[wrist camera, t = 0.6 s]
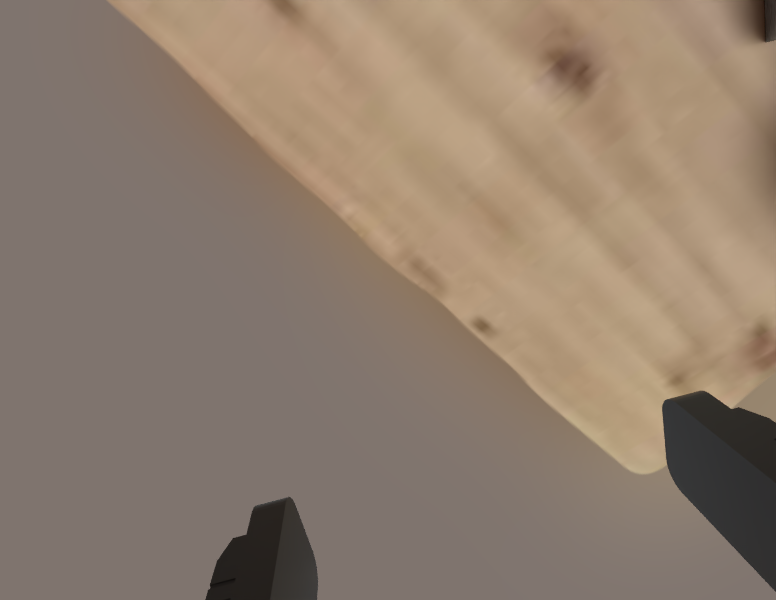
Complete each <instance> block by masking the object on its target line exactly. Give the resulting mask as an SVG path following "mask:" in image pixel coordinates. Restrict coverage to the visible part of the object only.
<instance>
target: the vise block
mask: <svg viewBox="0 0 776 600" xmlns="http://www.w3.org/2000/svg"><path fill="white" fill-rule="evenodd" d="M765 29H766V42H770V41H774V40H776V0H765Z"/></svg>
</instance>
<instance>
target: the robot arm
mask: <svg viewBox="0 0 776 600" xmlns="http://www.w3.org/2000/svg"><path fill="white" fill-rule="evenodd" d="M662 412H663V424H664V436H665V448H666V460H667V465H668V469H669V471H670V474H671V476H672V478H673V480H674V482H675V484H676V485H677V487H678V488H679V490H680V491H681V492H682V493H683V494H684V495H685V496H686V497H687V498H688V499H689V500H690V502H691V503H693V505H694V506H695V507H696V508H697V509H698V510H699V511H700V512H701V513H702V514H703V515H704V516H705V517H706V518H707V519H708V521H709V522H710V523H711V524H712V525H713V526H714V527H715V528H716V529H717V530H718V531H719V532H720V533H721V534H722V535H723V536H724V537H725V539H726V540H727V541H728V542H729V543H730V544H731V545H732V546H733V547H734V548H735V549H736V550H737V551H738V552H739V553H740V554H741V556H742V557H743V558H744V559H745V560H746V561H747V562H748V563H749V564H750V565H751V566H752V567H753V568H754V569H755V570H756V571H757V572H758V574H759V575H760V576H761V577H762V578H763V579H765V581H766V582H767V583H768V584H769V585H770V586H771V587H772V588H773V589H774V590H775V591H776V423H775V422H774V421H772V420H771V419H769V418H767V417H764V416H761V415H758V414H756V413H753V412H750V411H747V410H745V409H742V408H739V407H738V408H734V409H730V408H729V407H728V406H726V405H725V404H723V403H722V402H721V401H719V400H718V399H716V398H715V397H713V396H712V395H711V394H709V393H707V392H705V391H698V392H694V393H690V394H686V395H682V396H678V397H675V398H671V399H667V400H665V401H664V403H663V407H662ZM210 587H211V588H210V589H209V590H208V593H207V596H206V600H317V590H318V576H317V567H316V562H315V557H314V554H313V551H312V548H311V545H310V543H309V540H308V537H307V535H306V532H305V529H304V527H303V524H302V522H301V519H300V516H299V513H298V511H297V508H296V506H295V503H294V501H293V499H291V498H290V497H288V498H284V499H280V500H276V501H272V502H268V503H265V504H261V505H257V506H255V507H254V509H253V511H252V514H251V518H250V523H249V527H248V531H247V535H243V536H240V537H236V538H233V539H232V541H231V542H230V543H229V545H228V546H227V548H226V549H225V551H224V552H223V553H222V555H221V556H220V558H219V559H218V560H217V563H216V567H215V570H214V573H213V576H212V580H211V583H210Z"/></svg>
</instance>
